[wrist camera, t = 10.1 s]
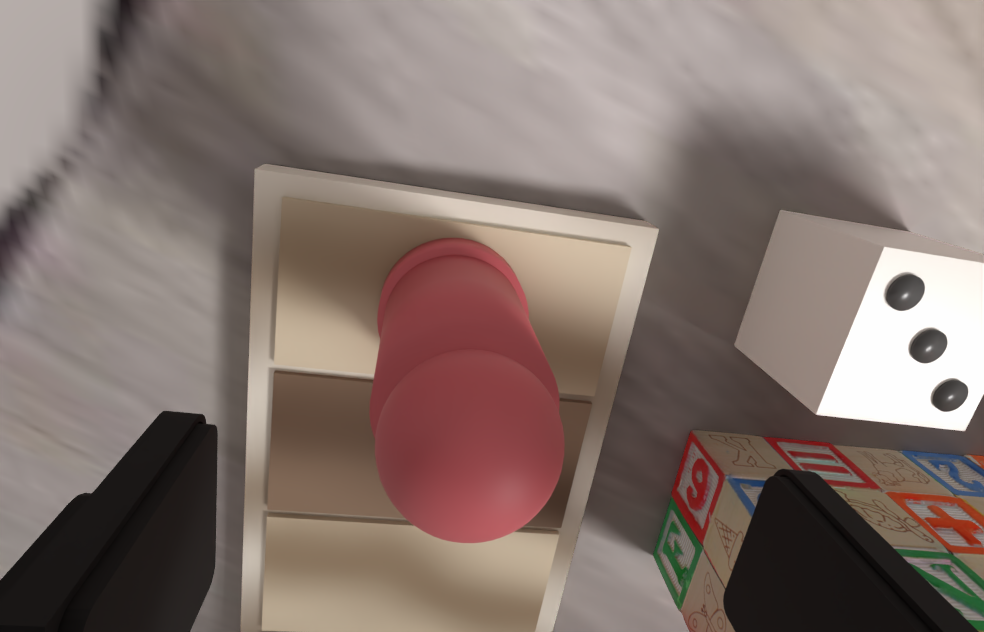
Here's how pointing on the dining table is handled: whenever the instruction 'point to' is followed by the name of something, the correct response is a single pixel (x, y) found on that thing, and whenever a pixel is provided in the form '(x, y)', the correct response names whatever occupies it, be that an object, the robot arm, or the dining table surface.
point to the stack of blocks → (856, 478)
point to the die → (869, 322)
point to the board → (347, 391)
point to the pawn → (462, 395)
